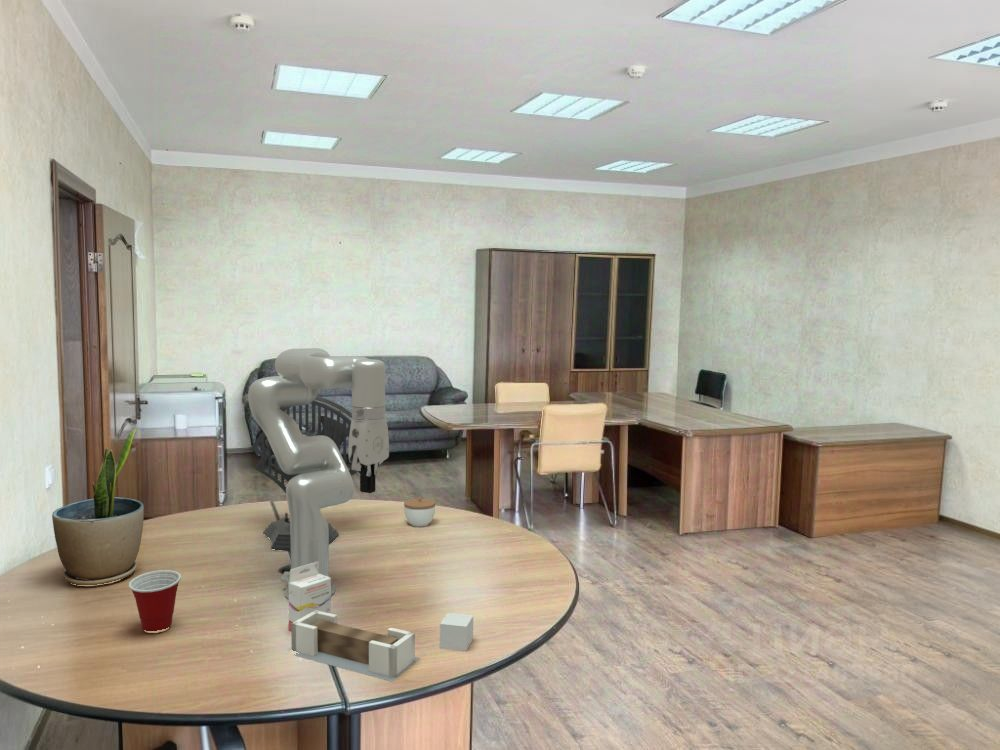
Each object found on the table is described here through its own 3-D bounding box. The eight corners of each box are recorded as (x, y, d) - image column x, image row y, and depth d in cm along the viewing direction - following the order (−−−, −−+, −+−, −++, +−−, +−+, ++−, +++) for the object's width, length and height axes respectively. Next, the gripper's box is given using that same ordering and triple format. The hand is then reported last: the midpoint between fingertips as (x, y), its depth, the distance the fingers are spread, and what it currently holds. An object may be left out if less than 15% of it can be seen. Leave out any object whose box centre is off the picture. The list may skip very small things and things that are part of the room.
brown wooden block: (309, 649, 160) (308, 626, 160) (320, 641, 164) (320, 619, 163) (387, 669, 152) (387, 646, 151) (397, 661, 155) (397, 638, 155)
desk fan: (330, 514, 265) (330, 389, 261) (382, 536, 241) (383, 398, 237) (239, 532, 243) (237, 395, 238) (286, 558, 218) (285, 407, 214)
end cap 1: (291, 650, 160) (291, 623, 159) (315, 635, 167) (315, 609, 166) (313, 656, 157) (313, 628, 157) (337, 641, 164) (337, 615, 164)
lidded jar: (423, 518, 263) (424, 492, 262) (441, 525, 254) (441, 498, 253) (398, 523, 256) (398, 496, 255) (415, 530, 247) (415, 503, 247)
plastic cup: (119, 637, 165) (117, 585, 164) (148, 617, 176) (147, 568, 175) (164, 641, 164) (163, 588, 163) (191, 621, 174) (190, 571, 173)
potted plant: (99, 597, 188) (94, 441, 184) (36, 585, 195) (29, 434, 191) (162, 569, 208) (158, 428, 204) (102, 560, 215) (98, 423, 211)
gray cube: (439, 650, 162) (439, 623, 161) (447, 638, 168) (447, 612, 167) (466, 653, 161) (466, 626, 160) (473, 641, 166) (473, 615, 166)
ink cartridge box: (301, 638, 166) (300, 574, 165) (288, 632, 170) (287, 569, 168) (332, 626, 173) (331, 564, 172) (318, 620, 176) (318, 559, 175)
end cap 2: (414, 660, 156) (414, 633, 155) (393, 677, 149) (393, 648, 148) (390, 654, 158) (390, 627, 158) (368, 670, 151) (368, 642, 151)
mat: (285, 654, 158) (285, 652, 158) (318, 634, 168) (318, 632, 168) (391, 683, 147) (391, 681, 147) (420, 659, 157) (420, 658, 157)
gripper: (362, 419, 162) (361, 501, 164) (400, 410, 175) (399, 487, 177) (334, 416, 165) (334, 496, 167) (374, 408, 178) (373, 482, 180)
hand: (367, 491), depth 172 cm, fingers closed
